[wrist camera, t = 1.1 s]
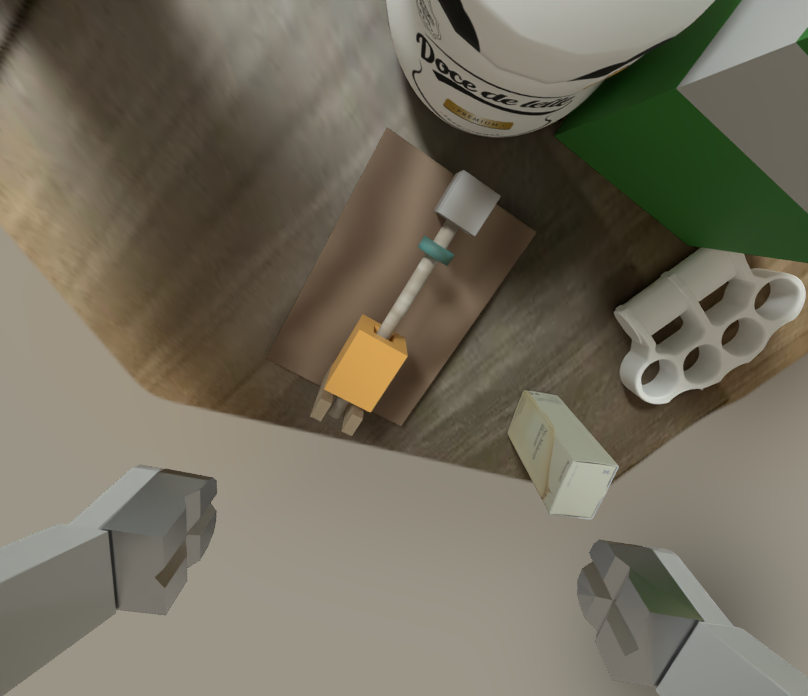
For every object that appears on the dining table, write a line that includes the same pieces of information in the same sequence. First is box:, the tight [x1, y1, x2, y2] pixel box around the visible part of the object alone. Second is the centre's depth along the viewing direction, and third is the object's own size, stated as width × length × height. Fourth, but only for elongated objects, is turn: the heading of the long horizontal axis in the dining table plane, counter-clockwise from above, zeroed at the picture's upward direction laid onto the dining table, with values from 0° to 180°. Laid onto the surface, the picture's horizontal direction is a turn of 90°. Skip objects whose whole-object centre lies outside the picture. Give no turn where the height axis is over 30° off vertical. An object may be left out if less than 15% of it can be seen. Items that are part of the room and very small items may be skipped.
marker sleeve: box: [324, 314, 408, 413], centre depth 33 cm, size 4×6×4 cm
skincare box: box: [508, 390, 619, 519], centre depth 38 cm, size 6×4×12 cm
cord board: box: [266, 128, 537, 436], centre depth 33 cm, size 16×24×9 cm, turn 148°
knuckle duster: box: [614, 247, 805, 404], centre depth 39 cm, size 3×18×15 cm
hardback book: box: [554, 0, 808, 263], centre depth 23 cm, size 18×7×24 cm, turn 58°
